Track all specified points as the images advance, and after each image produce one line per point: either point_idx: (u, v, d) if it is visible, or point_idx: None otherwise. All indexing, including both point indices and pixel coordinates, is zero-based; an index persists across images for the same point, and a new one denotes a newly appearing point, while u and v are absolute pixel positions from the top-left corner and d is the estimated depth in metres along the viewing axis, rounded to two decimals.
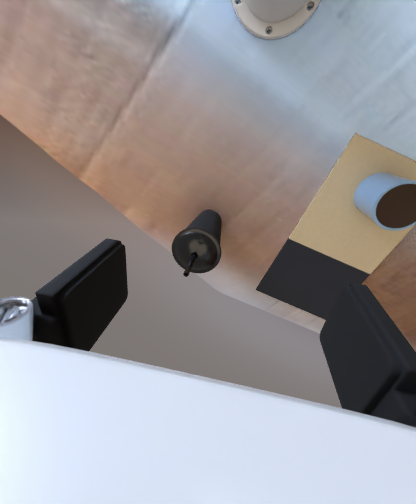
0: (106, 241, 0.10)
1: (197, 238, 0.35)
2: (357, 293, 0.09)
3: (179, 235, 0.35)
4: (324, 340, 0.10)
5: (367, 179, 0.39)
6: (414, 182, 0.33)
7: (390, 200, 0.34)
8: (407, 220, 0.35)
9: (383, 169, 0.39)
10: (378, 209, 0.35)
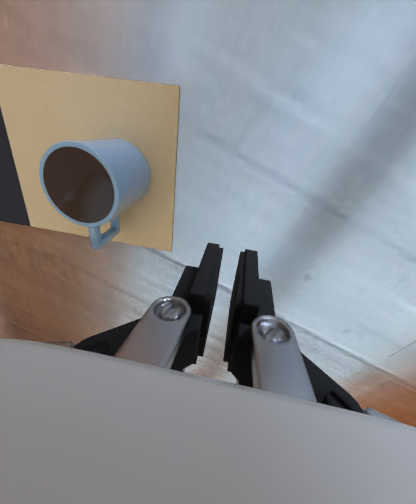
0: (210, 245, 0.10)
1: None
2: (245, 256, 0.10)
3: None
4: (230, 302, 0.11)
5: (126, 143, 0.25)
6: (114, 183, 0.20)
7: (77, 164, 0.20)
8: (68, 208, 0.22)
9: (151, 161, 0.27)
10: (56, 154, 0.20)
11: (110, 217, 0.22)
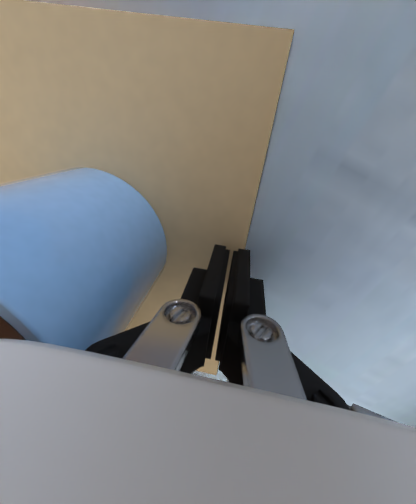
0: (217, 247, 0.10)
1: None
2: (237, 255, 0.10)
3: None
4: (224, 301, 0.11)
5: (113, 183, 0.10)
6: None
7: None
8: None
9: (191, 220, 0.12)
10: None
11: None
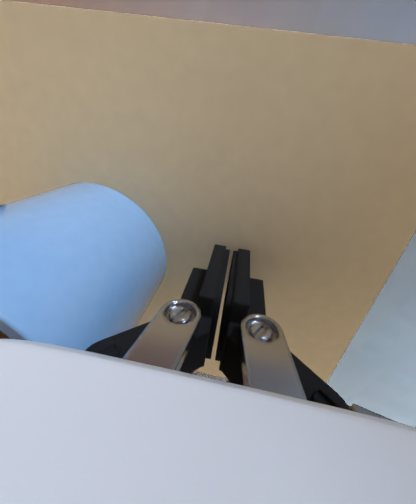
0: (217, 246, 0.10)
1: None
2: (237, 255, 0.10)
3: None
4: (224, 301, 0.11)
5: (109, 196, 0.11)
6: None
7: None
8: None
9: (333, 247, 0.11)
10: None
11: None
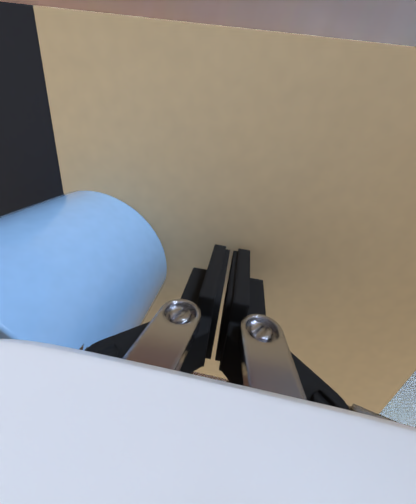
0: (217, 246, 0.10)
1: None
2: (237, 255, 0.10)
3: None
4: (224, 301, 0.11)
5: (107, 202, 0.11)
6: None
7: None
8: None
9: None
10: None
11: None
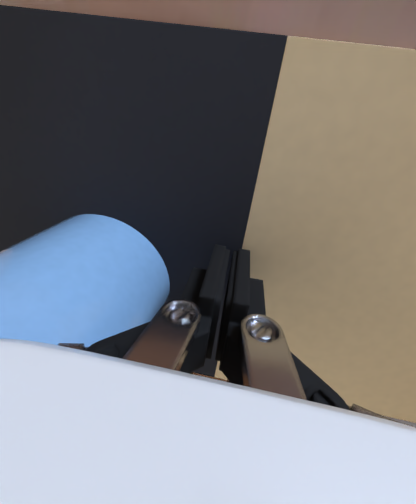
0: (217, 246, 0.10)
1: None
2: (237, 255, 0.10)
3: None
4: (224, 301, 0.11)
5: (94, 220, 0.11)
6: None
7: None
8: None
9: None
10: None
11: None
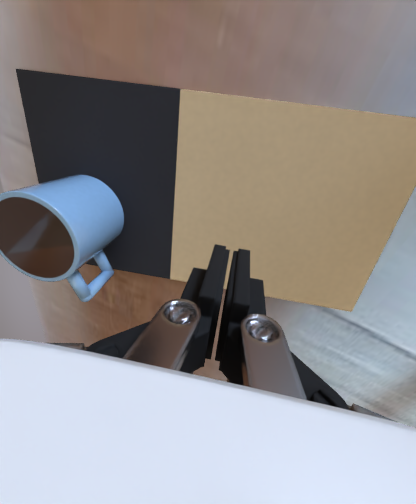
0: (217, 246, 0.10)
1: None
2: (237, 255, 0.10)
3: None
4: (224, 301, 0.11)
5: (79, 176, 0.22)
6: (62, 219, 0.17)
7: (18, 215, 0.17)
8: (34, 267, 0.19)
9: (365, 210, 0.21)
10: None
11: (77, 259, 0.18)
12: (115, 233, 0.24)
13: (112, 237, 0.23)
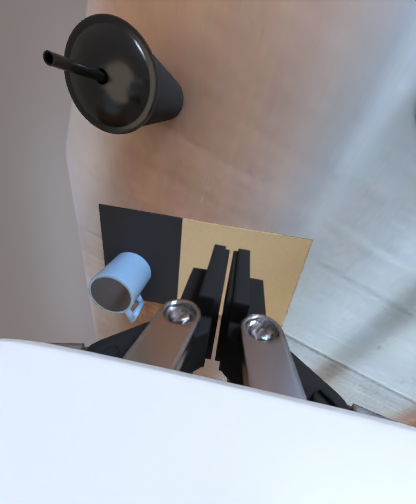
0: (217, 246, 0.10)
1: (136, 72, 0.18)
2: (237, 255, 0.10)
3: (125, 26, 0.17)
4: (224, 301, 0.11)
5: (128, 254, 0.41)
6: (126, 287, 0.36)
7: (105, 284, 0.36)
8: (109, 306, 0.38)
9: (281, 276, 0.40)
10: (94, 283, 0.36)
11: (132, 304, 0.37)
12: (146, 283, 0.42)
13: None
